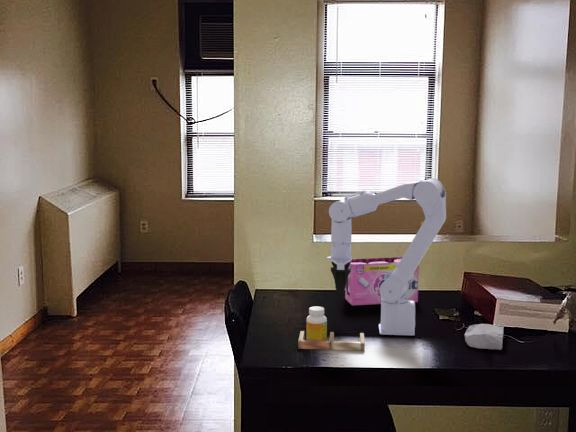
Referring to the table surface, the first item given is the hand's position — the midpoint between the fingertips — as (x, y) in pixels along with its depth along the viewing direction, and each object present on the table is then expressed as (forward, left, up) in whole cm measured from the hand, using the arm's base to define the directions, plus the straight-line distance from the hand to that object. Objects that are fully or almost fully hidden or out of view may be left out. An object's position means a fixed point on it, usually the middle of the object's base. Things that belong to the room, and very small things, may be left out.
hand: (340, 288), depth 183 cm
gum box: (-13, -25, -11) cm, 30 cm away
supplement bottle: (+6, +18, -11) cm, 21 cm away
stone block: (-38, +11, -11) cm, 41 cm away
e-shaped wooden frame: (+2, +17, -10) cm, 20 cm away
